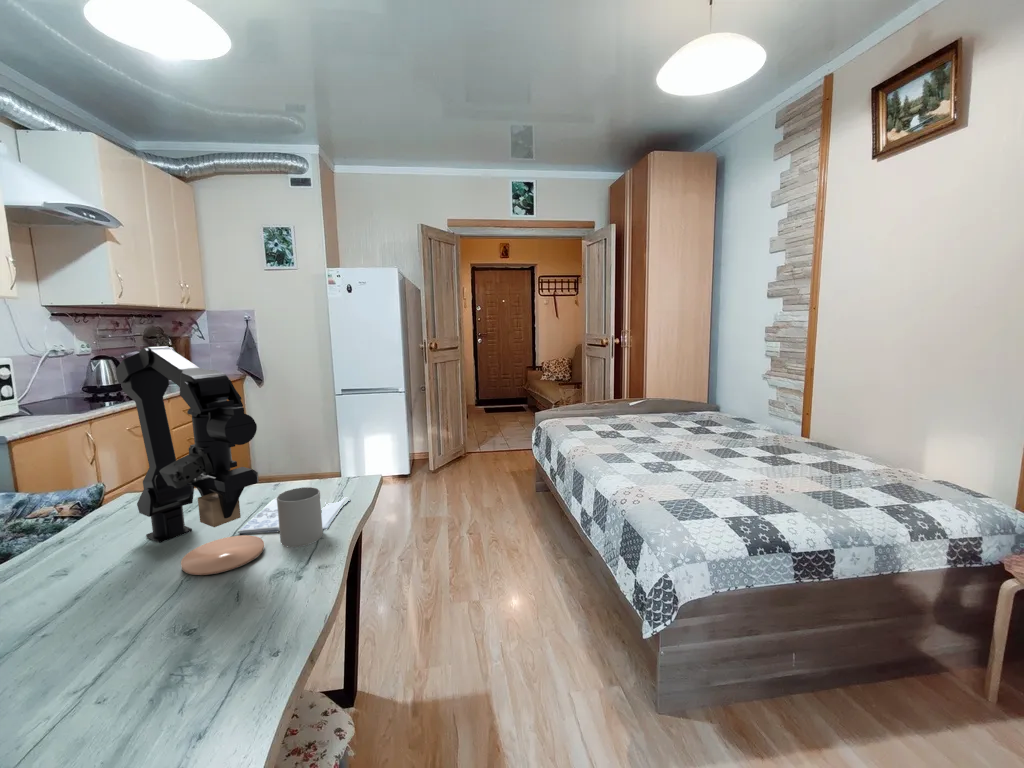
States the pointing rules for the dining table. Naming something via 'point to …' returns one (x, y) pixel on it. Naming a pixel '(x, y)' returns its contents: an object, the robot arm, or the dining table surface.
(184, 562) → the salmon pink disc
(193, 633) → the dining table surface
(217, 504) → the walnut block
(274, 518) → the patterned cloth
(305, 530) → the cup
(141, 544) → the dining table surface
